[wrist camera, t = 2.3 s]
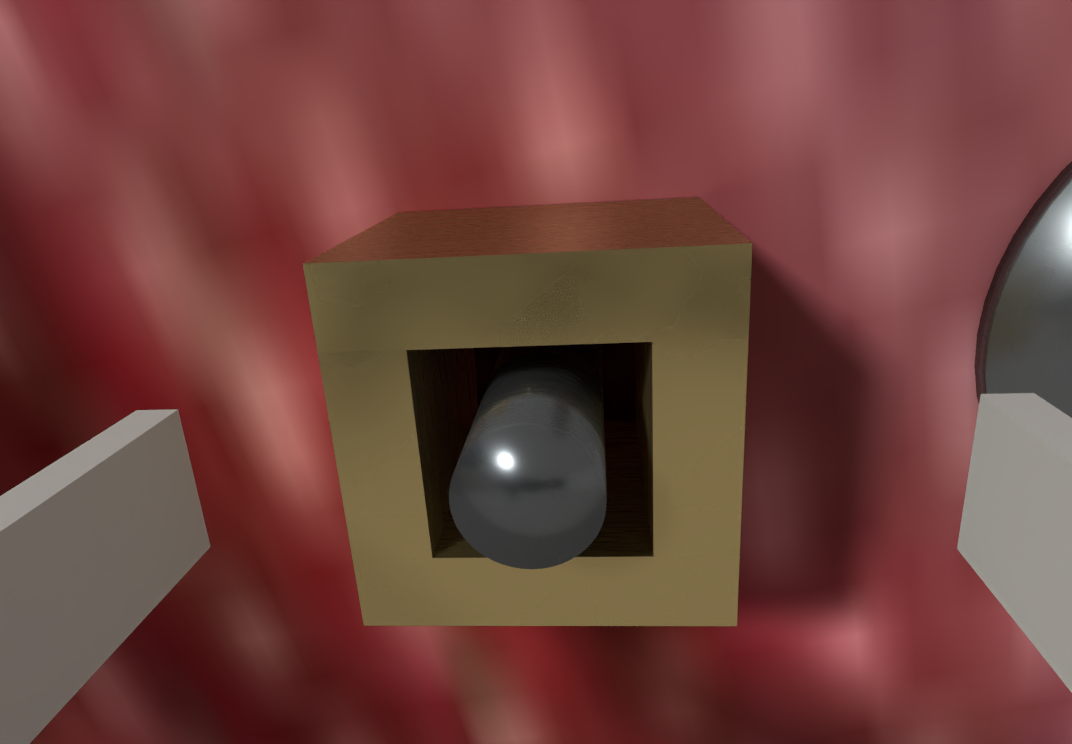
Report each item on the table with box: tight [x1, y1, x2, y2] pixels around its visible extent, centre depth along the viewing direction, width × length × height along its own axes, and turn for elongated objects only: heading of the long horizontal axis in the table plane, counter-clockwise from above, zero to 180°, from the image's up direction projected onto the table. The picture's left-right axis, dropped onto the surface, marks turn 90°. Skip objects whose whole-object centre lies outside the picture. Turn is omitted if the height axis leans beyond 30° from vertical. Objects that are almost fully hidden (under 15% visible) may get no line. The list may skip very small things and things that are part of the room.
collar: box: [303, 197, 752, 626], centre depth 15 cm, size 7×7×6 cm
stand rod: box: [449, 344, 607, 569], centre depth 15 cm, size 2×2×8 cm
